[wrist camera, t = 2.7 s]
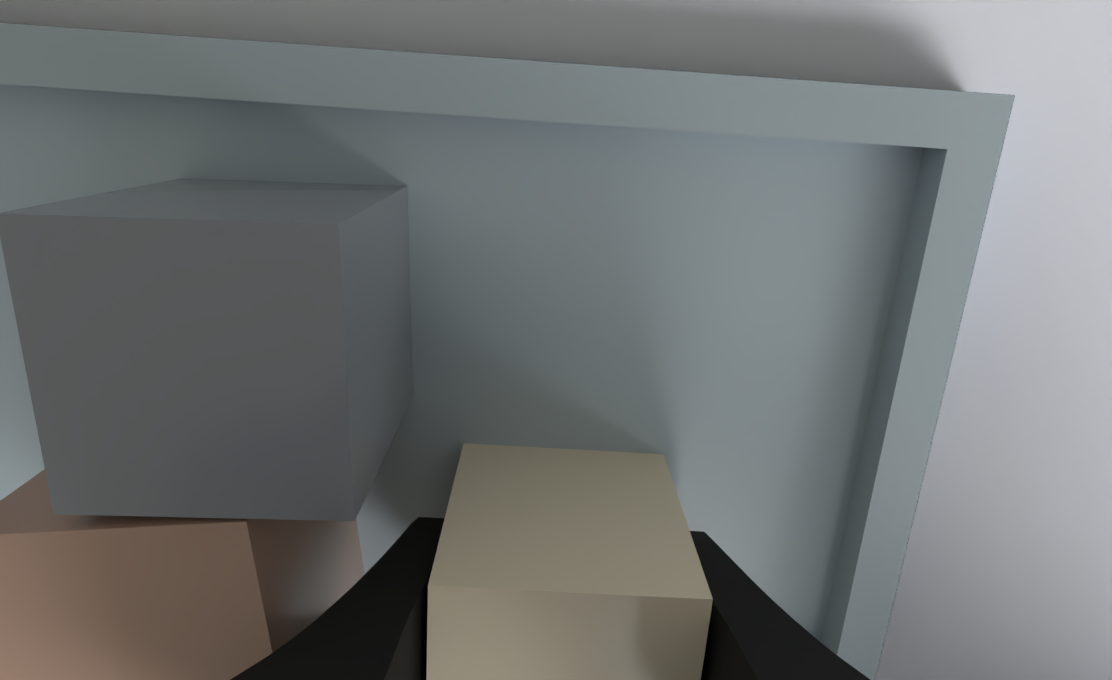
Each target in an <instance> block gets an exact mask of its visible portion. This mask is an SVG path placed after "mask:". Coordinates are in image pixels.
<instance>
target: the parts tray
mask: <svg viewBox="0 0 1112 680" xmlns="http://www.w3.org/2000/svg"><path fill="white" fill-rule="evenodd" d="M1014 97H1015V95H1006V94H992V93H978V92H964V91H950V90H936V89H922V88H908V87H894V86H880V85H866V84H852V83H838V82H824V81H810V80H796V79H782V78H768V77H754V76H740V75H726V74H712V73H698V72H684V71H670V70H656V69H642V68H628V67H614V66H600V65H586V64H572V63H558V62H544V61H530V60H516V59H503V58H489V57H475V56H461V55H447V54H433V53H419V52H405V51H391V50H377V49H363V48H349V47H335V46H321V45H307V44H293V43H279V42H265V41H251V40H237V39H223V38H209V37H195V36H181V35H167V34H153V33H139V32H125V31H111V30H97V29H83V28H69V27H55V26H41V25H27V24H13V23H0V212H5V211H10V210H16V209H21V208H26V207H32V206H37V205H42V204H47V203H53V202H58V201H63V200H69V199H74V198H79V197H85V196H90V195H95V194H101V193H106V192H111V191H117V190H122V189H127V188H133V187H138V186H143V185H149V184H154V183H159V182H164V181H170V180H175V179H211V180H242V181H273V182H303V183H334V184H365V185H396V186H408V217H409V254H410V292H411V330H412V368H413V397H412V399H411V401H410V403H409V406H408V408H407V410H406V412H405V414H404V416H403V418H402V421H401V423H400V425H399V427H398V429H397V431H396V433H395V436H394V438H393V440H392V442H391V444H390V446H389V449H388V451H387V453H386V455H385V457H384V459H383V461H382V464H381V466H380V468H379V470H378V472H377V474H376V476H375V479H374V481H373V483H372V485H371V487H370V489H369V492H368V494H367V496H366V498H365V500H364V502H363V504H362V507H361V509H360V511H359V513H358V515H357V517H356V519H357V526H358V533H359V540H360V546H361V553H362V560H363V567H364V575H365V573H366V572H367V571H368V570H369V569H370V568H371V567H372V566H373V565H374V564H375V563H376V562H377V561H378V560H379V559H380V558H381V557H382V556H383V555H384V554H385V553H386V552H387V550H388V549H389V548H390V547H391V546H392V545H393V544H394V543H395V542H396V540H397V539H398V538H399V537H400V536H401V535H402V533H403V532H404V531H405V530H406V529H407V528H408V526H409V525H410V524H411V523H412V522H413V521H414V520H416V519H417V518H418V517H431V518H445V515H446V511H447V507H448V503H449V499H450V495H451V491H452V487H453V483H454V479H455V475H456V471H457V467H458V463H459V459H460V454H461V450H462V446H463V443H468V444H486V445H504V446H522V447H541V448H559V449H577V450H596V451H614V452H632V453H651V454H664V457H665V460H666V463H667V466H668V469H669V472H670V475H671V478H672V481H673V484H674V487H675V489H676V492H677V495H678V498H679V501H680V504H681V507H682V510H683V513H684V516H685V519H686V522H687V525H688V528H689V531H703V532H705V533H706V534H707V535H708V536H709V537H710V538H711V539H712V540H713V541H714V542H715V543H716V544H717V545H718V546H719V547H720V548H721V549H722V550H723V551H724V552H725V553H726V554H727V555H728V556H729V557H730V558H731V559H732V560H733V561H734V562H735V563H736V564H737V565H738V566H739V567H740V568H741V569H742V570H743V571H744V572H745V573H746V574H747V575H748V576H749V577H750V578H751V579H752V580H753V581H754V582H755V583H756V584H757V585H758V586H759V587H760V588H761V589H762V590H763V591H764V592H765V593H766V594H767V595H768V596H769V597H770V598H771V599H772V600H773V601H774V602H775V603H776V604H777V605H778V606H780V607H781V608H782V609H783V610H784V611H785V612H786V613H787V614H788V615H789V616H791V617H792V618H793V619H794V620H795V621H796V622H797V623H799V624H800V625H801V626H802V627H803V628H804V629H806V630H807V631H808V632H809V633H810V634H812V635H813V636H814V637H815V638H816V639H817V640H819V641H820V642H821V643H822V644H823V645H825V646H826V647H827V648H828V649H830V650H831V651H832V652H834V653H835V654H836V655H837V656H839V657H840V658H841V659H843V660H844V661H845V662H847V663H848V664H850V665H851V666H852V667H854V668H855V669H856V670H858V671H859V672H861V673H862V674H863V675H865V676H866V677H867V678H869V679H870V680H875V678H876V673H877V669H878V665H879V661H880V657H881V653H882V648H883V644H884V640H885V636H886V632H887V628H888V623H889V619H890V615H891V611H892V607H893V602H894V598H895V594H896V590H897V586H898V582H899V577H900V573H901V569H902V565H903V561H904V557H905V552H906V548H907V544H908V540H909V536H910V531H911V527H912V523H913V519H914V515H915V511H916V506H917V502H918V498H919V494H920V490H921V486H922V481H923V477H924V473H925V469H926V465H927V460H928V456H929V452H930V448H931V444H932V440H933V435H934V431H935V427H936V423H937V419H938V415H939V410H940V406H941V402H942V398H943V394H944V389H945V385H946V381H947V377H948V373H949V369H950V364H951V360H952V356H953V352H954V348H955V344H956V339H957V335H958V331H959V327H960V323H961V318H962V314H963V310H964V306H965V302H966V298H967V293H968V289H969V285H970V281H971V277H972V273H973V268H974V264H975V260H976V256H977V252H978V247H979V243H980V239H981V235H982V231H983V227H984V222H985V218H986V214H987V210H988V206H989V202H990V197H991V193H992V189H993V185H994V181H995V177H996V172H997V168H998V164H999V160H1000V156H1001V151H1002V147H1003V143H1004V139H1005V135H1006V131H1007V126H1008V122H1009V118H1010V114H1011V110H1012V106H1013V101H1014ZM44 469H45V467H44V462H43V457H42V452H41V447H40V442H39V436H38V431H37V426H36V421H35V416H34V411H33V405H32V400H31V395H30V390H29V385H28V380H27V374H26V369H25V364H24V359H23V354H22V348H21V343H20V338H19V333H18V328H17V323H16V317H15V312H14V307H13V302H12V297H11V292H10V286H9V281H8V276H7V271H6V266H5V260H4V255H3V250H2V245H1V240H0V501H1V500H2V499H3V498H5V497H6V496H8V495H9V494H10V493H12V492H13V491H15V490H16V489H17V488H19V487H20V486H22V485H23V484H24V483H26V482H27V481H29V480H30V479H31V478H33V477H34V476H36V475H37V474H38V473H40V472H41V471H43V470H44ZM364 575H363V576H364Z"/></svg>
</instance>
